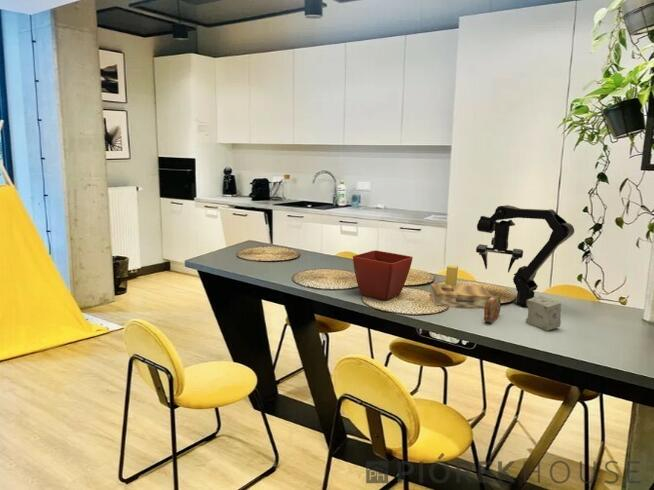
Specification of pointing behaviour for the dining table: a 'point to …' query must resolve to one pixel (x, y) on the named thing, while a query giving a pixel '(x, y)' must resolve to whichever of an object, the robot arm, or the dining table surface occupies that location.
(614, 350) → the dining table surface
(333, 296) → the dining table surface
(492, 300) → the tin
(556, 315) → the grey concrete block
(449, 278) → the yellow block
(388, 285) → the plant pot
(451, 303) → the tan flat piece
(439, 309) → the dining table surface
